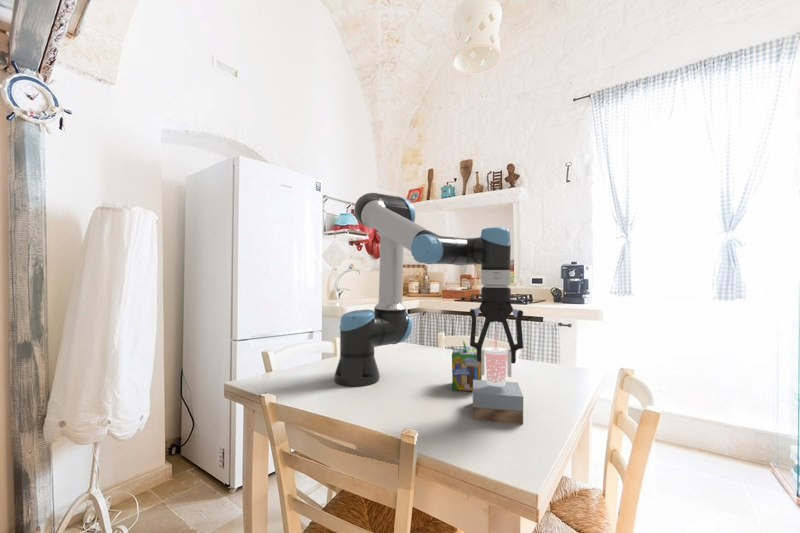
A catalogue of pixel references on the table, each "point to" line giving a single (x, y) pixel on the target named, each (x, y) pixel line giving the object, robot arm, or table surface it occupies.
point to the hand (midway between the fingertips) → (495, 374)
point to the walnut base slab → (498, 415)
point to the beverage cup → (496, 364)
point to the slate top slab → (497, 396)
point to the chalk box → (465, 369)
